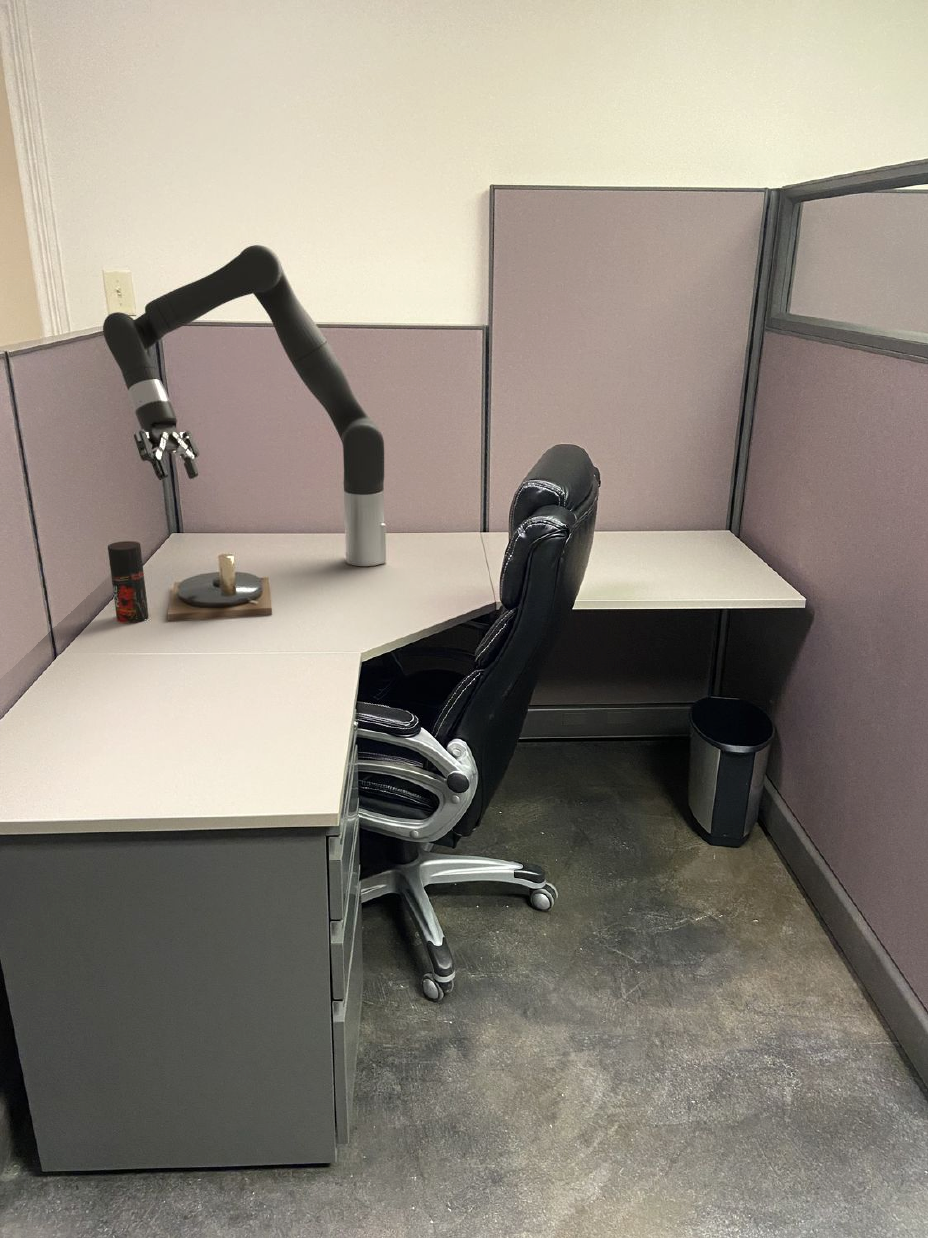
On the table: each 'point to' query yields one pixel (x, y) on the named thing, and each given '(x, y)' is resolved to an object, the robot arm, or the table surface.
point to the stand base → (191, 612)
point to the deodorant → (128, 582)
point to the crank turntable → (220, 586)
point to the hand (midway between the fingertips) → (179, 478)
